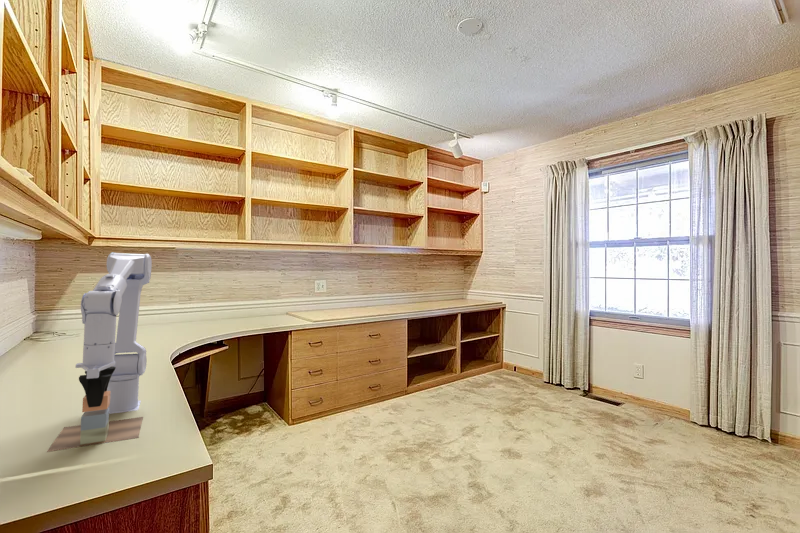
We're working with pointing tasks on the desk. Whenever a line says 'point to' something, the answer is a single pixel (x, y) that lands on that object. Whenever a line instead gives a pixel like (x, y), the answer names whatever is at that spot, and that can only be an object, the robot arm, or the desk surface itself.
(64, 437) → the build board
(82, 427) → the brick slate
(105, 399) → the brick terracotta
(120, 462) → the desk surface
